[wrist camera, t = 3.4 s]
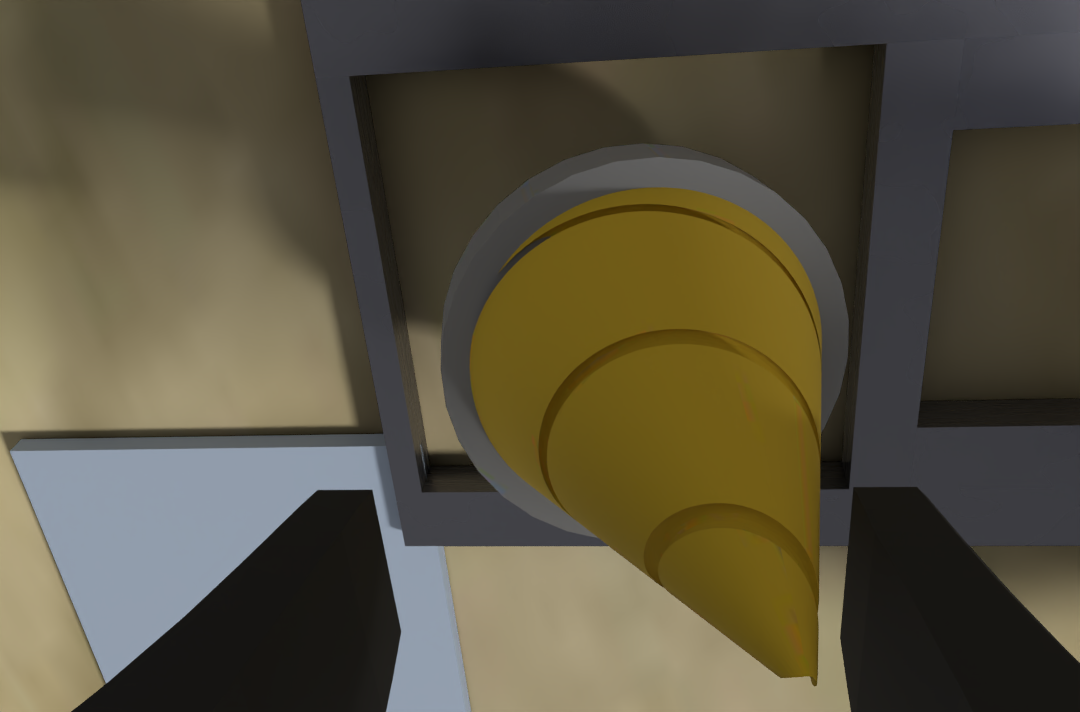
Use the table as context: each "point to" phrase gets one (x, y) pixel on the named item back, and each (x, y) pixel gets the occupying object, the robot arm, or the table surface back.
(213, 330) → the table surface
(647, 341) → the yellow cone
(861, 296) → the rectangular frame
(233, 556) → the mat
